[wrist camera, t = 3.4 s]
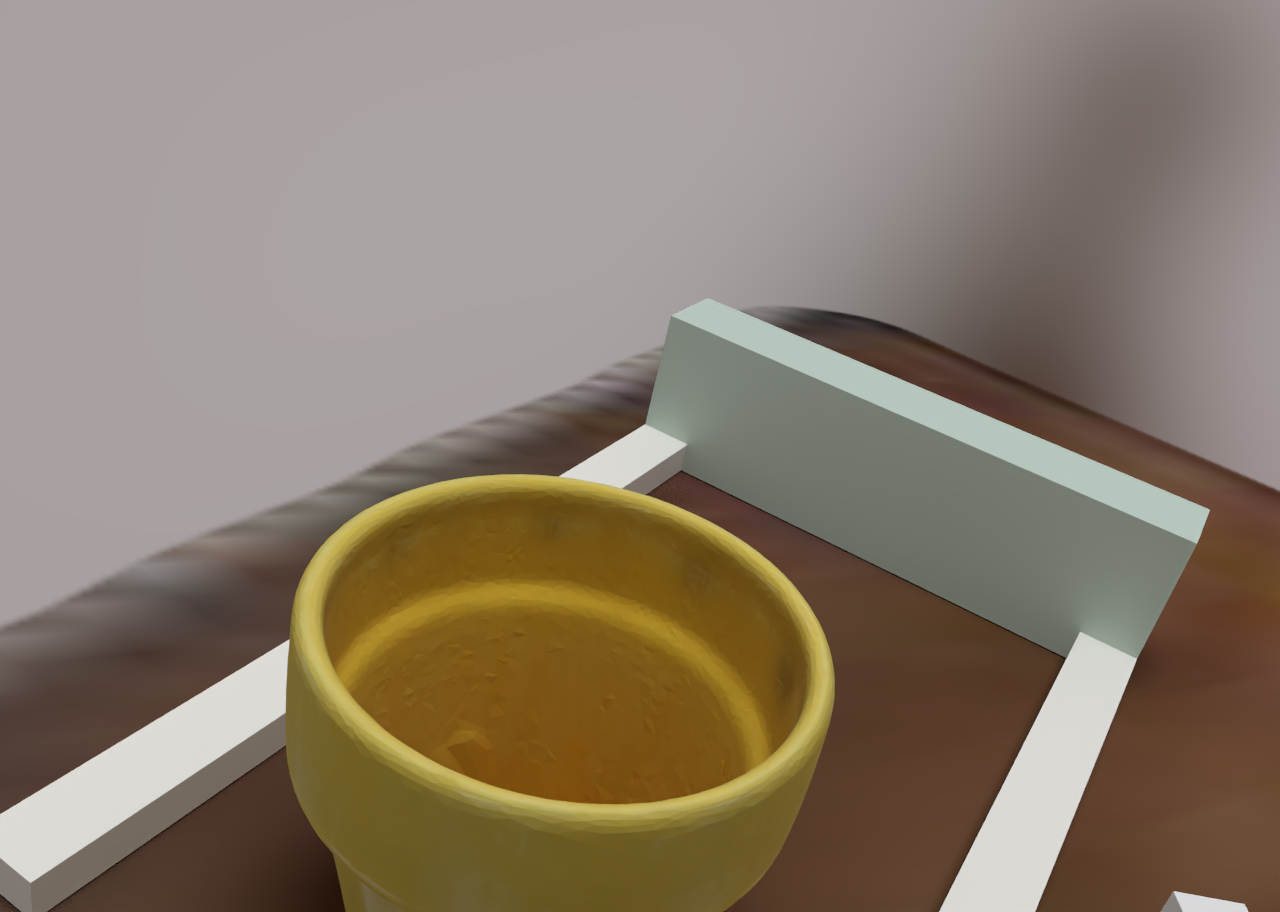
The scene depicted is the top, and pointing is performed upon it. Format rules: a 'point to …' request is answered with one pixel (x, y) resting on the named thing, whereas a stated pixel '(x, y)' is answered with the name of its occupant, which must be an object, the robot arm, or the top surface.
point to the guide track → (809, 499)
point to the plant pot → (549, 702)
